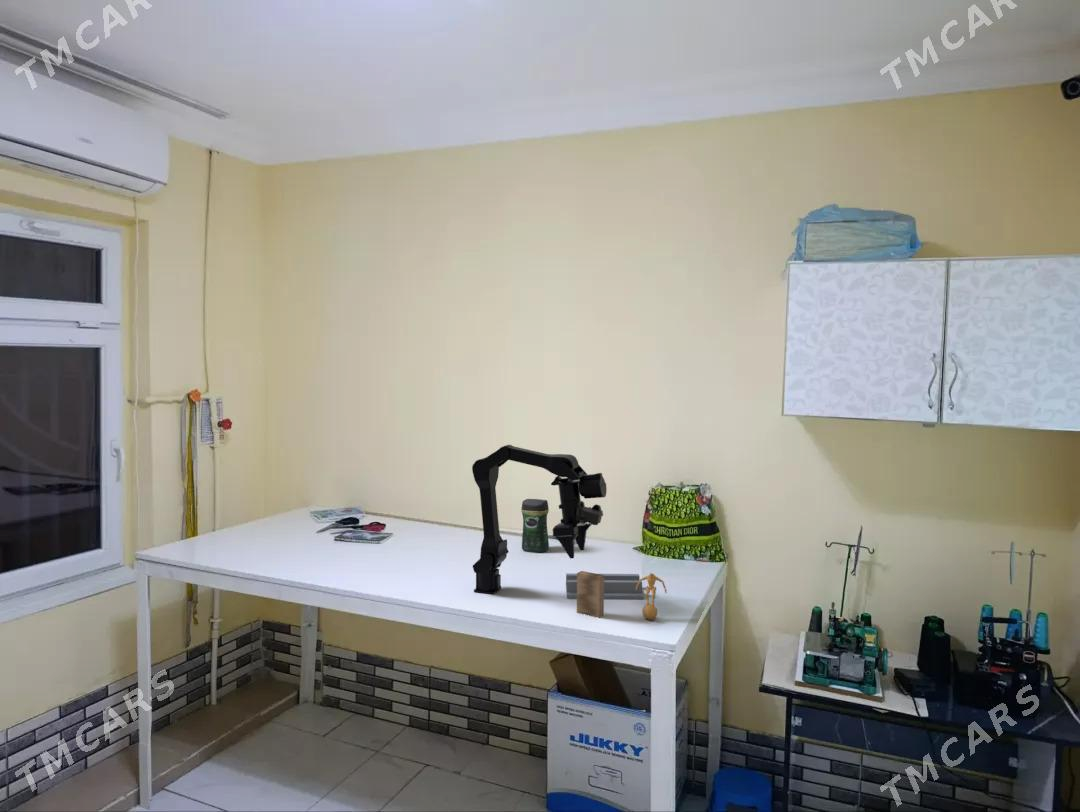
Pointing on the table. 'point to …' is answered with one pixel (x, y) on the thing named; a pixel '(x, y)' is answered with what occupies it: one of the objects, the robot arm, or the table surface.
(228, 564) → the table surface
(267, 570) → the table surface
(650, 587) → the figurine
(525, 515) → the coffee jar
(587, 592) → the plaque
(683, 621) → the table surface
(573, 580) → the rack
